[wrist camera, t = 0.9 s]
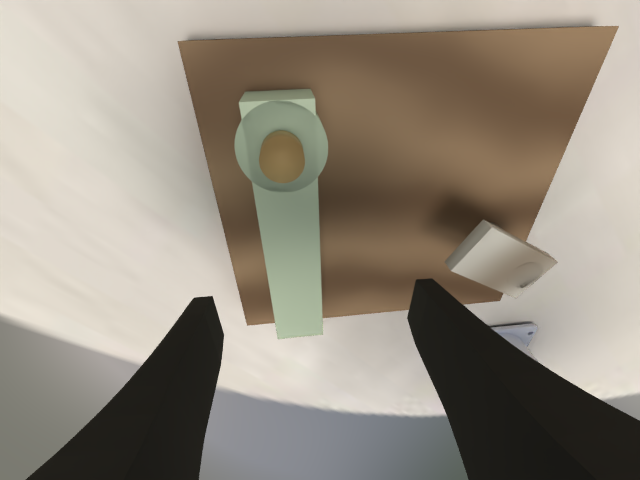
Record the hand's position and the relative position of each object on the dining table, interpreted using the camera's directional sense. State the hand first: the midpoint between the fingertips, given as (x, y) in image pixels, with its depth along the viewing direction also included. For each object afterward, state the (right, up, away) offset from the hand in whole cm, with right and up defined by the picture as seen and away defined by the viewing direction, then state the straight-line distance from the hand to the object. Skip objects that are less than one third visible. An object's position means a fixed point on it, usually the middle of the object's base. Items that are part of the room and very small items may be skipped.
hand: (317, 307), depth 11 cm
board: (+4, +5, +9) cm, 11 cm away
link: (-2, +3, +7) cm, 8 cm away
